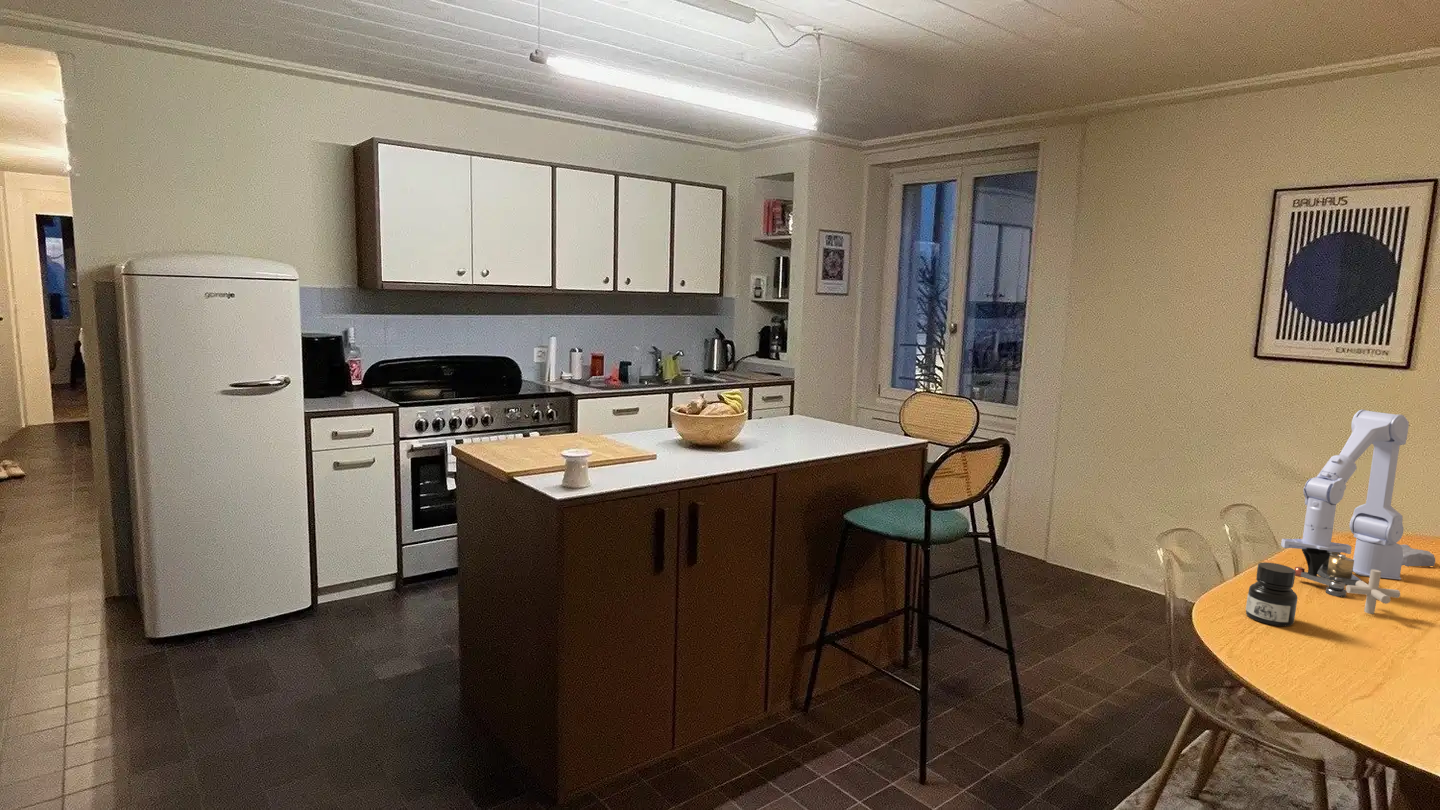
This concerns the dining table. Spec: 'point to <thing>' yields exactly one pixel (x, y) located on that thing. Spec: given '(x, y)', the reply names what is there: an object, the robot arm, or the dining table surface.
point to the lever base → (1336, 592)
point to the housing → (1340, 566)
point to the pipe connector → (1373, 591)
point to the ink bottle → (1272, 595)
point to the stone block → (1416, 557)
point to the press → (1325, 574)
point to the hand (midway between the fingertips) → (1311, 577)
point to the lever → (1319, 579)
